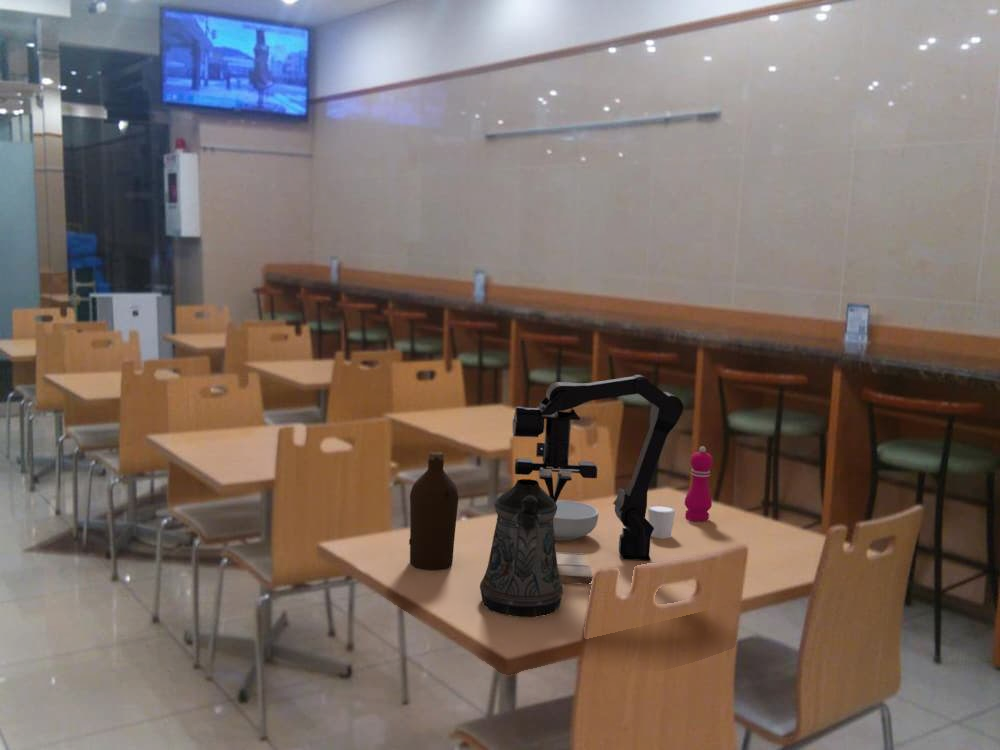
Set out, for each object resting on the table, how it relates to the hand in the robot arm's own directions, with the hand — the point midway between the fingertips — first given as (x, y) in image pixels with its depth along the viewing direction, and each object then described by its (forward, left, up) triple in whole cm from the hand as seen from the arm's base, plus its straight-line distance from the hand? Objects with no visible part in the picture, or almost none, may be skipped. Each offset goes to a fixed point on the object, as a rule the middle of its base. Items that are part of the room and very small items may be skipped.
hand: (553, 504), depth 232 cm
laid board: (+1, +16, -12) cm, 20 cm away
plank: (+1, +8, -12) cm, 14 cm away
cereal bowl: (-4, -16, -12) cm, 21 cm away
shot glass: (-29, -21, -12) cm, 38 cm away
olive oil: (+27, +11, -12) cm, 32 cm away
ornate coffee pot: (+7, +34, -12) cm, 37 cm away
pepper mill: (-42, -39, -12) cm, 59 cm away
